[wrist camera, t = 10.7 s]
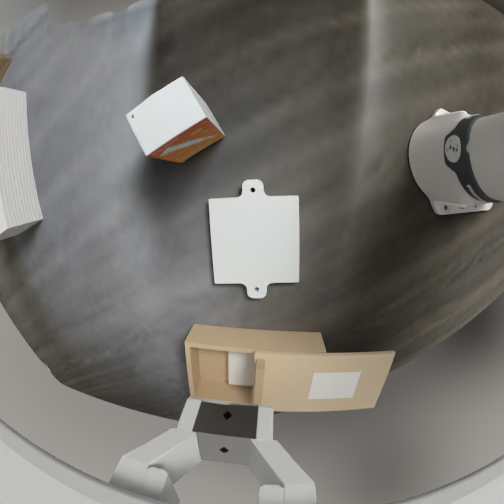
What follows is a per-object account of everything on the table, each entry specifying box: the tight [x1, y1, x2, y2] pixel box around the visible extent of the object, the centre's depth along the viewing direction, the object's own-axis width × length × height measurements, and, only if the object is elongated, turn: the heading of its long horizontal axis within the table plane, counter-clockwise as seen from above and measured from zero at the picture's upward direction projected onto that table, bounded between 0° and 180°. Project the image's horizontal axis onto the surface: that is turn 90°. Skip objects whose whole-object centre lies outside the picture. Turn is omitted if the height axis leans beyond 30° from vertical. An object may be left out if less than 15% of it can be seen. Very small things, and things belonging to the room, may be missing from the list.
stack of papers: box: [0, 87, 43, 240], centre depth 36 cm, size 32×11×11 cm, turn 16°
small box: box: [126, 77, 225, 163], centre depth 32 cm, size 8×6×13 cm
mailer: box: [184, 324, 326, 404], centre depth 44 cm, size 22×13×6 cm, turn 88°
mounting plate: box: [209, 179, 299, 298], centre depth 41 cm, size 18×13×2 cm
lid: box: [252, 351, 395, 412], centre depth 39 cm, size 23×13×3 cm, turn 88°
